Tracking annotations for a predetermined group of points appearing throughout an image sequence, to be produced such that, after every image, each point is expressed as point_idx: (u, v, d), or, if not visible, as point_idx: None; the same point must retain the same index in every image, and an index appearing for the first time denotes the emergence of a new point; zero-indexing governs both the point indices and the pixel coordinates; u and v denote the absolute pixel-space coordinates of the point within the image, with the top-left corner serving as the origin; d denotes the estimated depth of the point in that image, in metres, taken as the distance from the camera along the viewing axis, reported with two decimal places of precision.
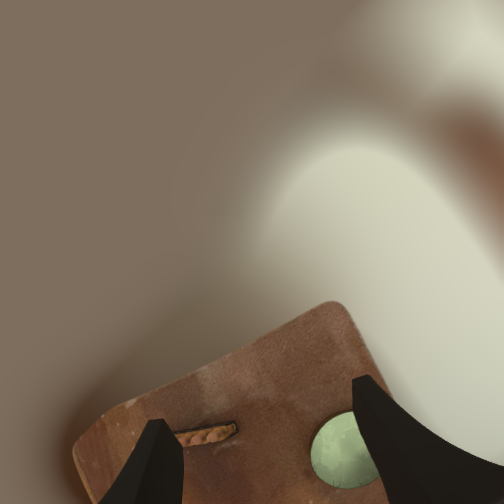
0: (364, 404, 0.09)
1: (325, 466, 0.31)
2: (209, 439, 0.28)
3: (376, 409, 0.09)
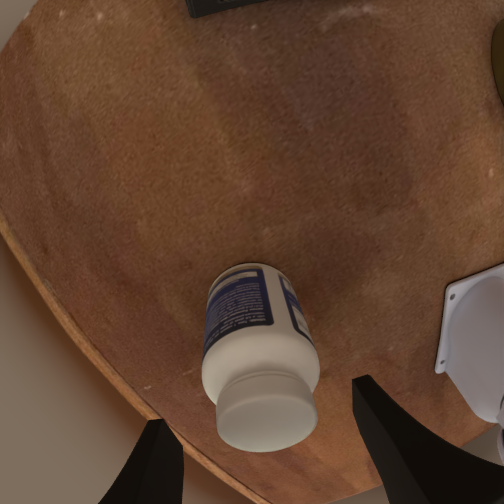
0: (364, 404, 0.09)
1: None
2: None
3: (376, 409, 0.09)
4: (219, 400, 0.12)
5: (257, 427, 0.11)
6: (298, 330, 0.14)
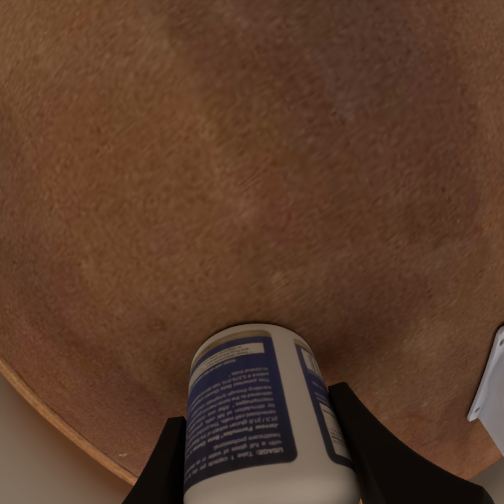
0: (338, 412, 0.09)
1: None
2: None
3: (349, 418, 0.09)
4: None
5: None
6: (334, 456, 0.07)
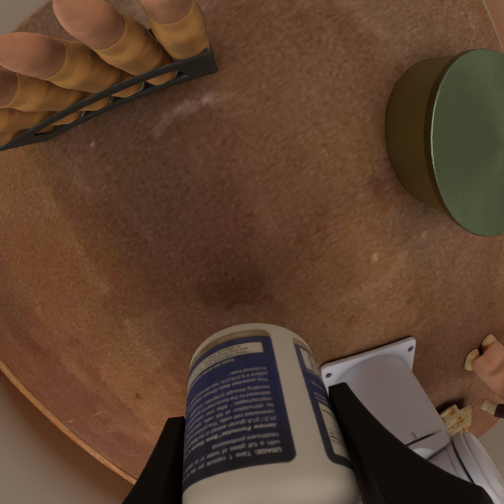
0: (338, 412, 0.09)
1: (456, 169, 0.13)
2: None
3: (348, 418, 0.09)
4: None
5: None
6: (333, 455, 0.07)
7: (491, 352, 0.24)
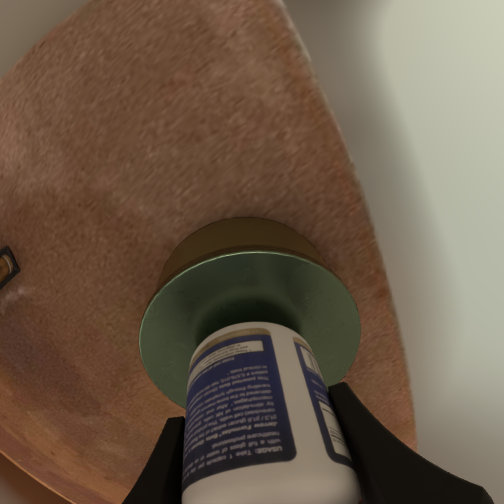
0: (338, 412, 0.09)
1: (183, 384, 0.15)
2: None
3: (348, 418, 0.09)
4: None
5: None
6: (334, 455, 0.07)
7: None
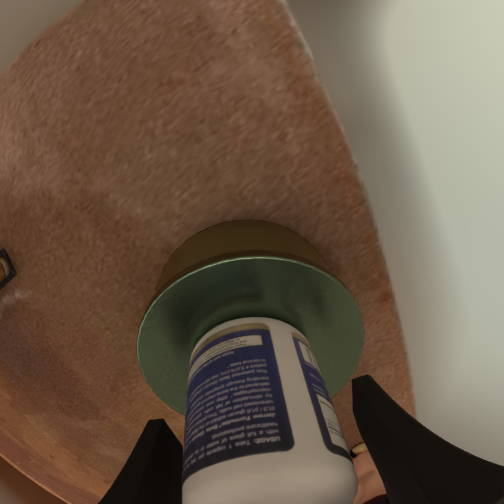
0: (364, 404, 0.09)
1: (182, 391, 0.14)
2: None
3: (376, 409, 0.09)
4: None
5: None
6: (331, 446, 0.08)
7: (357, 462, 0.25)
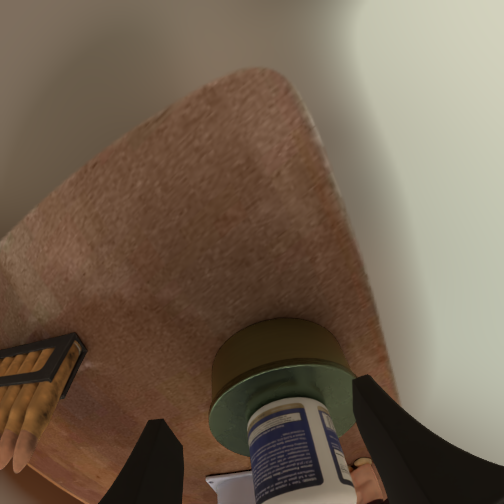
0: (364, 404, 0.09)
1: (238, 439, 0.20)
2: (16, 471, 0.10)
3: (376, 409, 0.09)
4: None
5: None
6: (342, 480, 0.13)
7: (357, 473, 0.30)
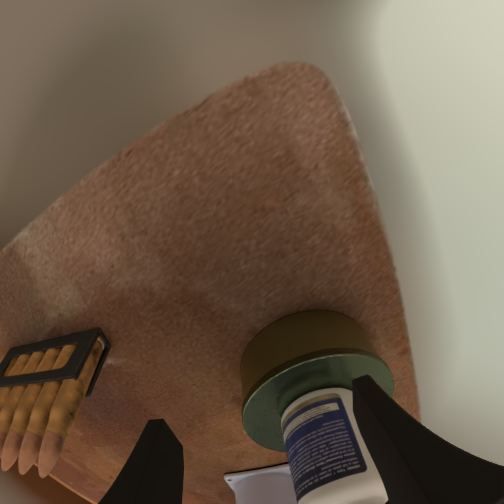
0: (364, 404, 0.09)
1: (269, 433, 0.20)
2: (42, 476, 0.10)
3: (376, 409, 0.09)
4: None
5: None
6: None
7: None
